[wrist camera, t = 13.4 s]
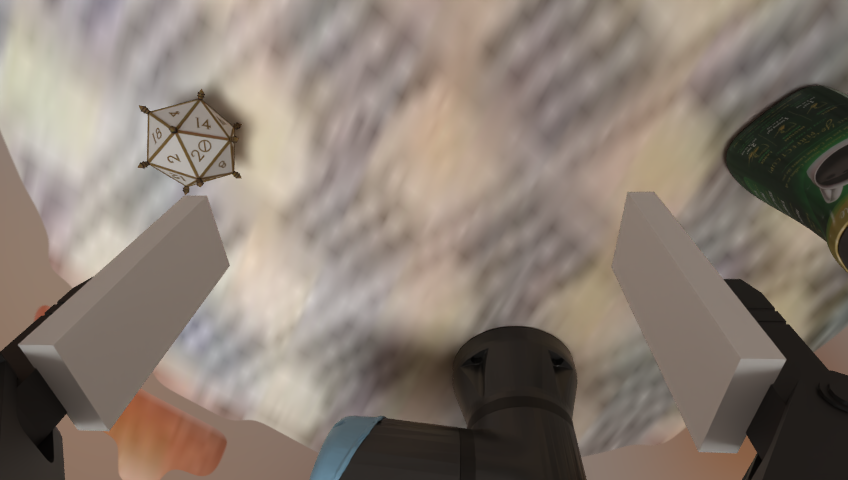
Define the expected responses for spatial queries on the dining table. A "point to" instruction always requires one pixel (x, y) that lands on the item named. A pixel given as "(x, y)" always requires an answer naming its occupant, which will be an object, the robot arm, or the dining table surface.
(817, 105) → the coffee jar
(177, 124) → the game die
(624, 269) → the robot arm
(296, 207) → the dining table surface
